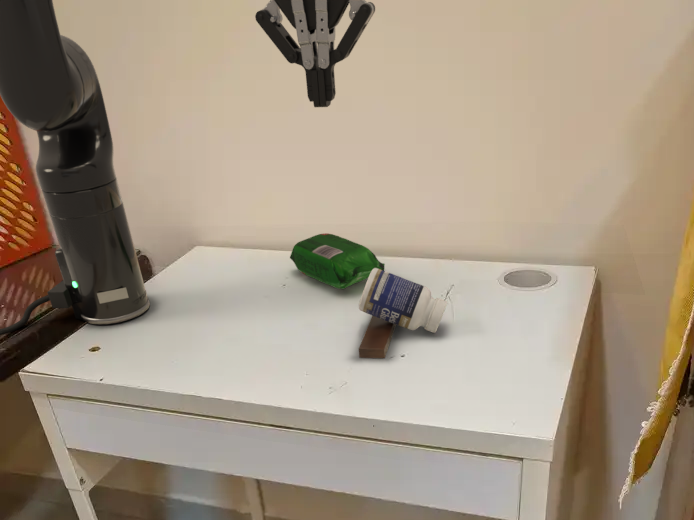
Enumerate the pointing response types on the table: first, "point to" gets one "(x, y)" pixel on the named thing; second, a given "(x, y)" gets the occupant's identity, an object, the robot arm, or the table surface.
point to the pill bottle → (401, 301)
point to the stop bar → (376, 338)
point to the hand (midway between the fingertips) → (322, 105)
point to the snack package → (334, 260)
